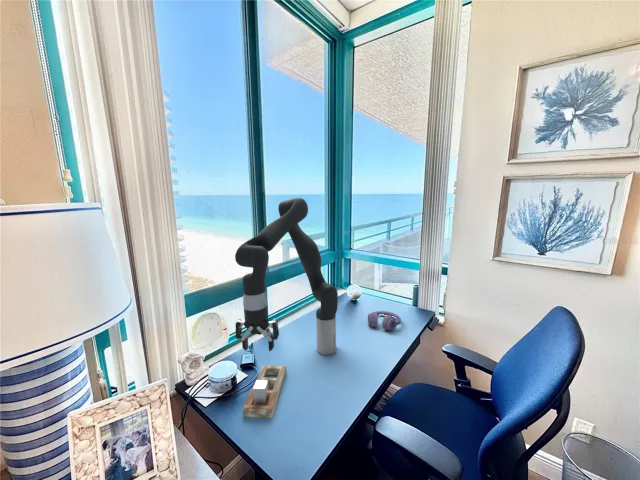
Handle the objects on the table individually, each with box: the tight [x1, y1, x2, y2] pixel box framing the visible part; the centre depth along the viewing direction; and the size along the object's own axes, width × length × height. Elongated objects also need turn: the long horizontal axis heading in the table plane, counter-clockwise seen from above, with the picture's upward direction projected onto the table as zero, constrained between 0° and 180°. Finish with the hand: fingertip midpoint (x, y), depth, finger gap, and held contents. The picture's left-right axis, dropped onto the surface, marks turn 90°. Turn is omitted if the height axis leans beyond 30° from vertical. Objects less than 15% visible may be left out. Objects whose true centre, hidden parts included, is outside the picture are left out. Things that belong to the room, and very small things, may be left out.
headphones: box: [367, 310, 402, 332], centre depth 149 cm, size 18×8×20 cm
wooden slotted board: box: [242, 364, 287, 419], centre depth 98 cm, size 10×23×3 cm, turn 175°
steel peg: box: [252, 380, 269, 406], centre depth 91 cm, size 4×4×9 cm
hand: (258, 349), depth 88 cm, fingers open, 8 cm apart
